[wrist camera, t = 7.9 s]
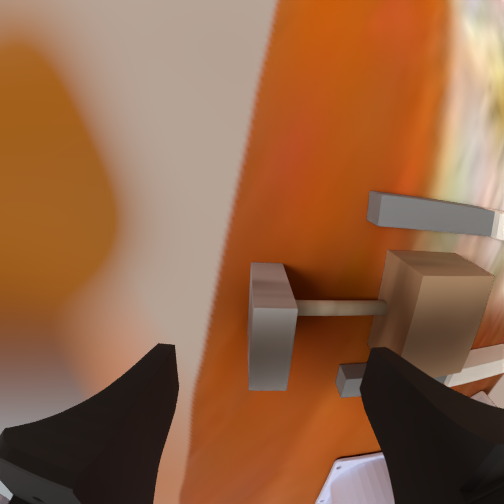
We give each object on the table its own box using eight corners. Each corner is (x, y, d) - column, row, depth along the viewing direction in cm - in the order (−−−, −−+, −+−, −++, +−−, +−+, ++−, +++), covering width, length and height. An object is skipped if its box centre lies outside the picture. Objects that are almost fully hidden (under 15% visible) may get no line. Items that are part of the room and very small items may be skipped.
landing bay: (434, 371, 19) (444, 383, 17) (335, 382, 18) (340, 397, 17) (479, 206, 15) (495, 211, 14) (369, 190, 15) (381, 194, 13)
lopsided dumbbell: (431, 338, 18) (469, 382, 13) (246, 345, 17) (247, 406, 12) (454, 252, 16) (506, 283, 11) (252, 243, 16) (255, 281, 11)
